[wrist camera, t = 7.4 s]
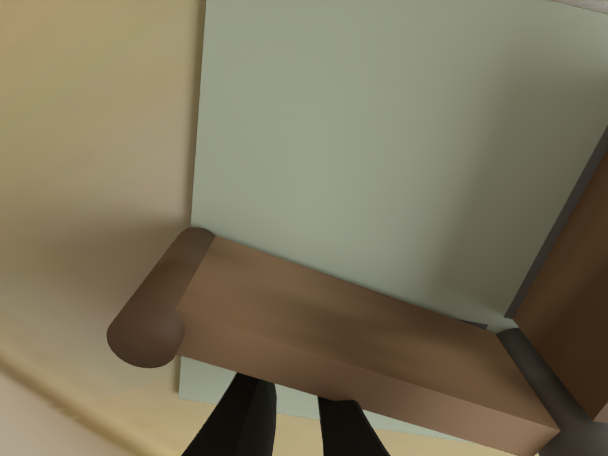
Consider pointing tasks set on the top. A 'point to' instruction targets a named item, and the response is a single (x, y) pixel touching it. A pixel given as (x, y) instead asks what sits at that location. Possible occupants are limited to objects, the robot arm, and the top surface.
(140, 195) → the top surface
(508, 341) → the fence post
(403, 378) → the fence gate
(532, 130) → the card
